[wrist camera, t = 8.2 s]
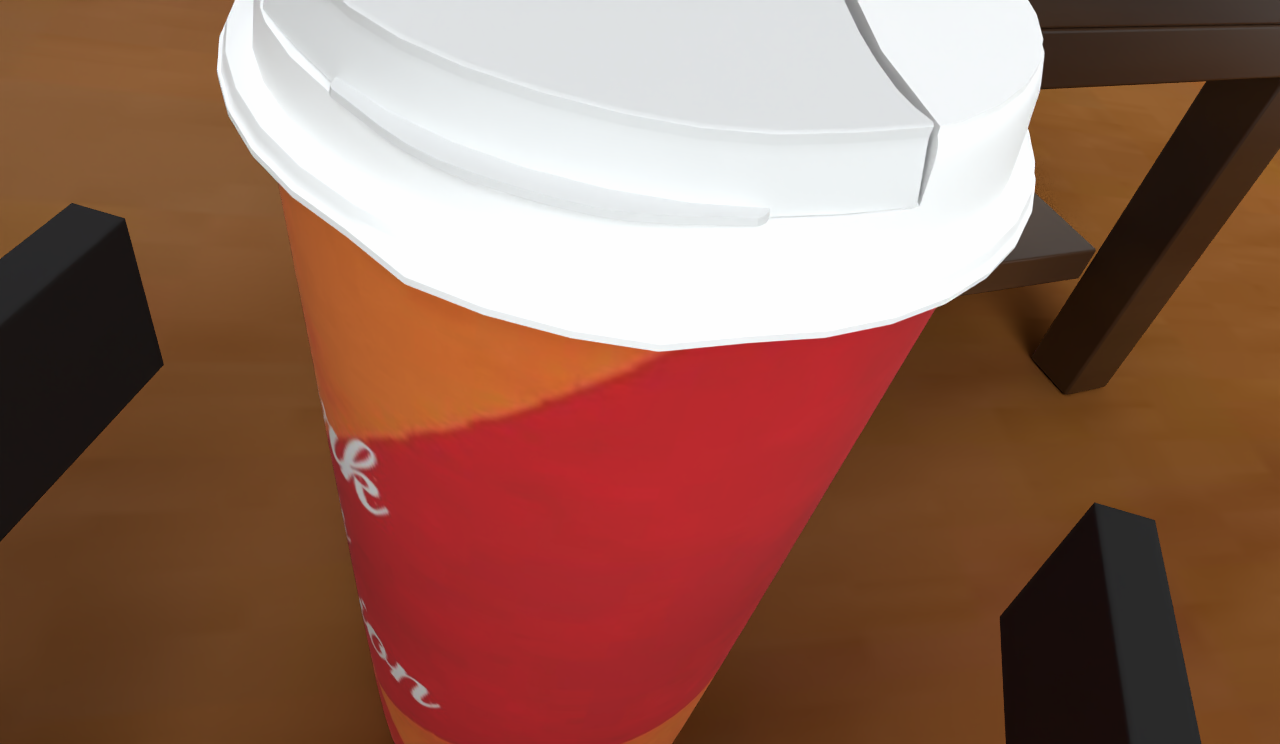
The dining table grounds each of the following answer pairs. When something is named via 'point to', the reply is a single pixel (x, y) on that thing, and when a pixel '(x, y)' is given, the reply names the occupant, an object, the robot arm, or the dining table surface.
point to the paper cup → (612, 308)
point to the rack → (1177, 182)
